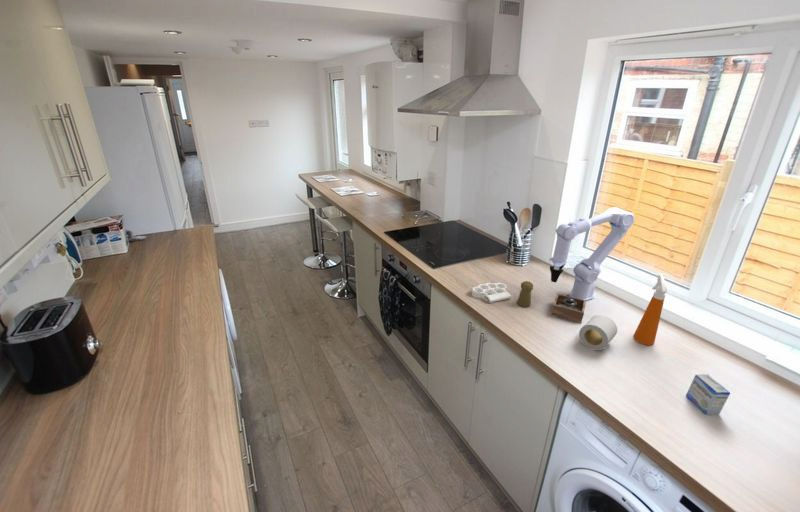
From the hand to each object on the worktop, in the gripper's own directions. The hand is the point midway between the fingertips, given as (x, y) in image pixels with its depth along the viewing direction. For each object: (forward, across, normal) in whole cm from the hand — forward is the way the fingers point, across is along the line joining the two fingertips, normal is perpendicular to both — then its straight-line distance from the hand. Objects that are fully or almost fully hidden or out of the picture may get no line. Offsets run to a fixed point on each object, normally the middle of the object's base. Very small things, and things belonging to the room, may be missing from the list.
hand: (554, 278), depth 166 cm
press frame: (+10, +9, +8) cm, 16 cm away
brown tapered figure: (+11, +12, -10) cm, 19 cm away
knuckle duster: (+12, +11, -25) cm, 30 cm away
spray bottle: (+10, +13, +36) cm, 40 cm away
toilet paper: (+11, +27, +20) cm, 35 cm away
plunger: (+10, +9, +8) cm, 16 cm away
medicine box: (+10, +44, +51) cm, 68 cm away
